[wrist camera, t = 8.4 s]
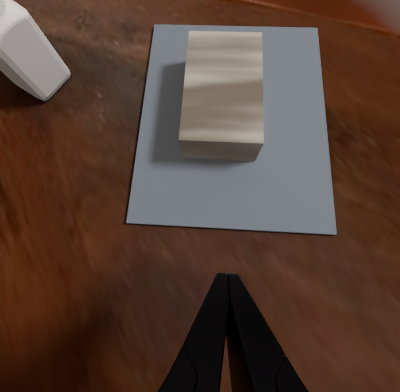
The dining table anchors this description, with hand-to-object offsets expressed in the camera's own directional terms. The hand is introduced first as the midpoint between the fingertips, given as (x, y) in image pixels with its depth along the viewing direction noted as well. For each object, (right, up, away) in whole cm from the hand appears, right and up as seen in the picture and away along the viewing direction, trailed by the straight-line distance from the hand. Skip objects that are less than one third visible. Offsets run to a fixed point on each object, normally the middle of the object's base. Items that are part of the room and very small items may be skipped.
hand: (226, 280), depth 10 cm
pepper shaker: (-16, +14, +13) cm, 25 cm away
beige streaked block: (0, +7, +9) cm, 11 cm away
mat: (+2, +10, +11) cm, 16 cm away
